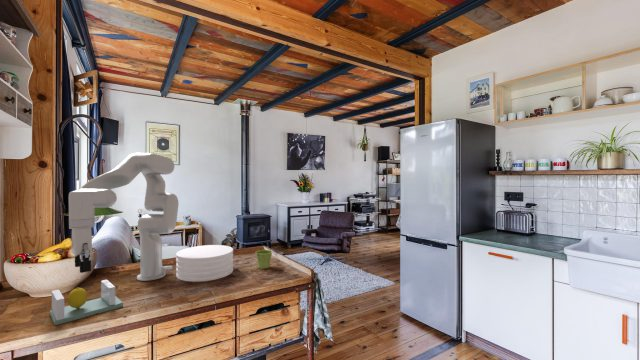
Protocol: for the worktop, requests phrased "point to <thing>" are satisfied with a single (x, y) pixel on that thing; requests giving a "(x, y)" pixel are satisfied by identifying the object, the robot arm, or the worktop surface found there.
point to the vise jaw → (108, 292)
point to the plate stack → (204, 263)
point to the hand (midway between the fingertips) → (82, 268)
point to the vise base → (70, 313)
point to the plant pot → (263, 258)
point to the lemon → (77, 298)
